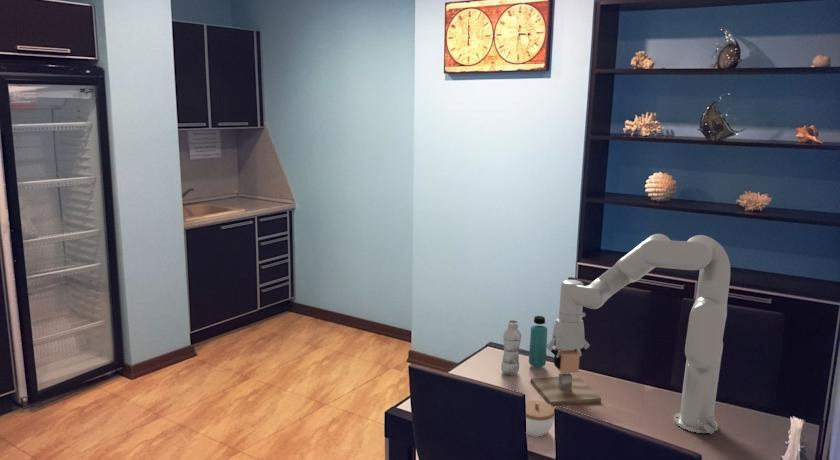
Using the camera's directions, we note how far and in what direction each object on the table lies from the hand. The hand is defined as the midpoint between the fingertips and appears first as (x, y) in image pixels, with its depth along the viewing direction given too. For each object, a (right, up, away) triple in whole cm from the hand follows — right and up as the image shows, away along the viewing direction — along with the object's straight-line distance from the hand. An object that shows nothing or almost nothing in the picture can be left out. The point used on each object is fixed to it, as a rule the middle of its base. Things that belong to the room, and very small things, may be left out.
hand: (566, 366), depth 213 cm
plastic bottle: (-17, -6, +16) cm, 24 cm away
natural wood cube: (0, -1, 0) cm, 1 cm away
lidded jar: (-15, -15, -25) cm, 33 cm away
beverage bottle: (-6, -5, +22) cm, 23 cm away
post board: (0, -9, +2) cm, 10 cm away
